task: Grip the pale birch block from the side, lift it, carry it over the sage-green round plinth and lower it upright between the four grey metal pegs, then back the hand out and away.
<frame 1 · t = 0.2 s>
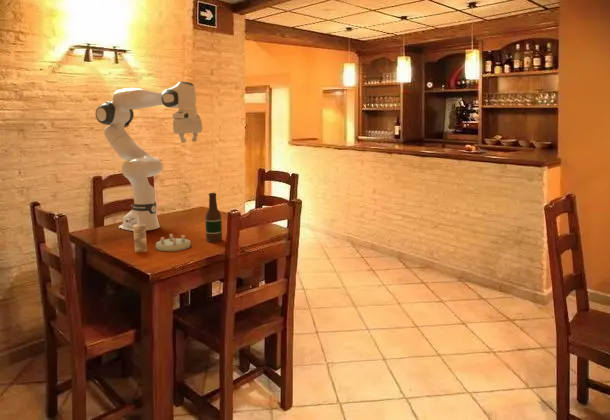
hand: (189, 142, 252), 48 cm above the table, tool pointing down, fingers open, 8 cm apart
peg plinth: (173, 246, 234), on the table
birch block: (140, 250, 227), on the table
beer bottle: (214, 241, 245), on the table
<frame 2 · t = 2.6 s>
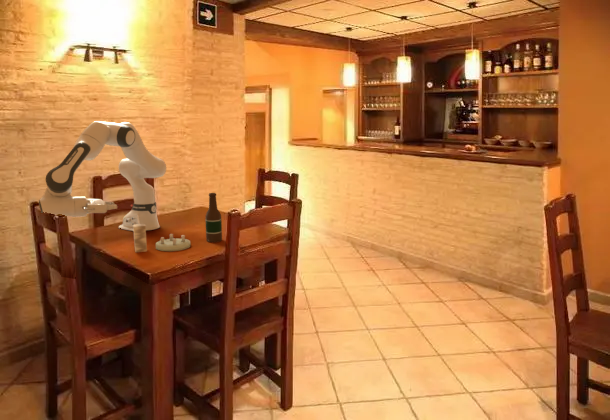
hand: (115, 205, 219), 22 cm above the table, tool horizontal, fingers open, 8 cm apart
nothing on the table moved.
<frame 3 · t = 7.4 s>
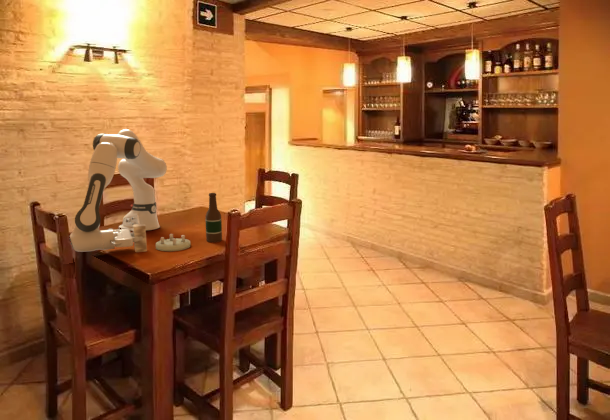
hand: (141, 236, 226), 7 cm above the table, tool horizontal, fingers closed on birch block, 5 cm apart
birch block: (140, 250, 227), on the table, touching gripper
everything else where it was.
when the fingers open (10 cm above the table, at t = 12.6 s): birch block stays where it is, resting on peg plinth.
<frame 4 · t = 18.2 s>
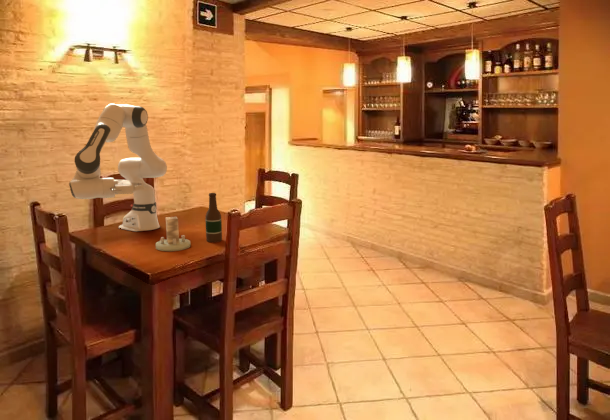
hand: (142, 185, 223), 30 cm above the table, tool horizontal, fingers open, 8 cm apart
birch block: (173, 242, 233), point 2 cm above the table, touching peg plinth
everything else where it was.
at the end: birch block 0.1 cm off-centre on the peg plinth, point 2.0 cm above the peg plinth's base; birch block tilted 0°; the gripper is holding nothing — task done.
